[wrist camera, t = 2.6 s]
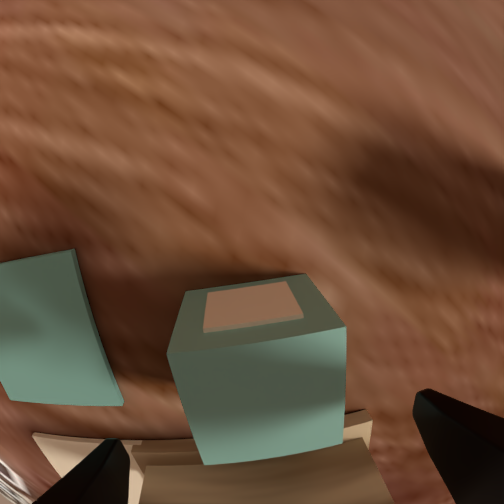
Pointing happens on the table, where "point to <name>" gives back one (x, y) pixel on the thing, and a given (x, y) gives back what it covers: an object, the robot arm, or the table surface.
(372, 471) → the screen
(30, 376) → the teal coaster
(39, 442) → the ivory coaster
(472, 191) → the table surface
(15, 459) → the table surface
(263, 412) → the cube
